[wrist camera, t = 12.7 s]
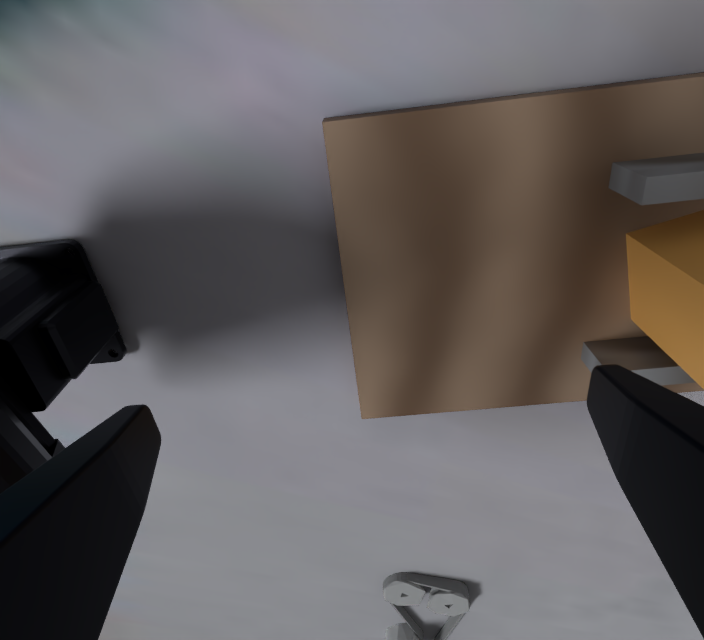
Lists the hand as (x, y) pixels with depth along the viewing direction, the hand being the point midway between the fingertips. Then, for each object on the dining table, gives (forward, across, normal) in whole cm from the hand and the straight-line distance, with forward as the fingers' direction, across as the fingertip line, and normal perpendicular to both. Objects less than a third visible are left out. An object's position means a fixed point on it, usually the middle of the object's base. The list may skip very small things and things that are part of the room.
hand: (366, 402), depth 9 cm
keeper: (+13, -9, +4) cm, 16 cm away
